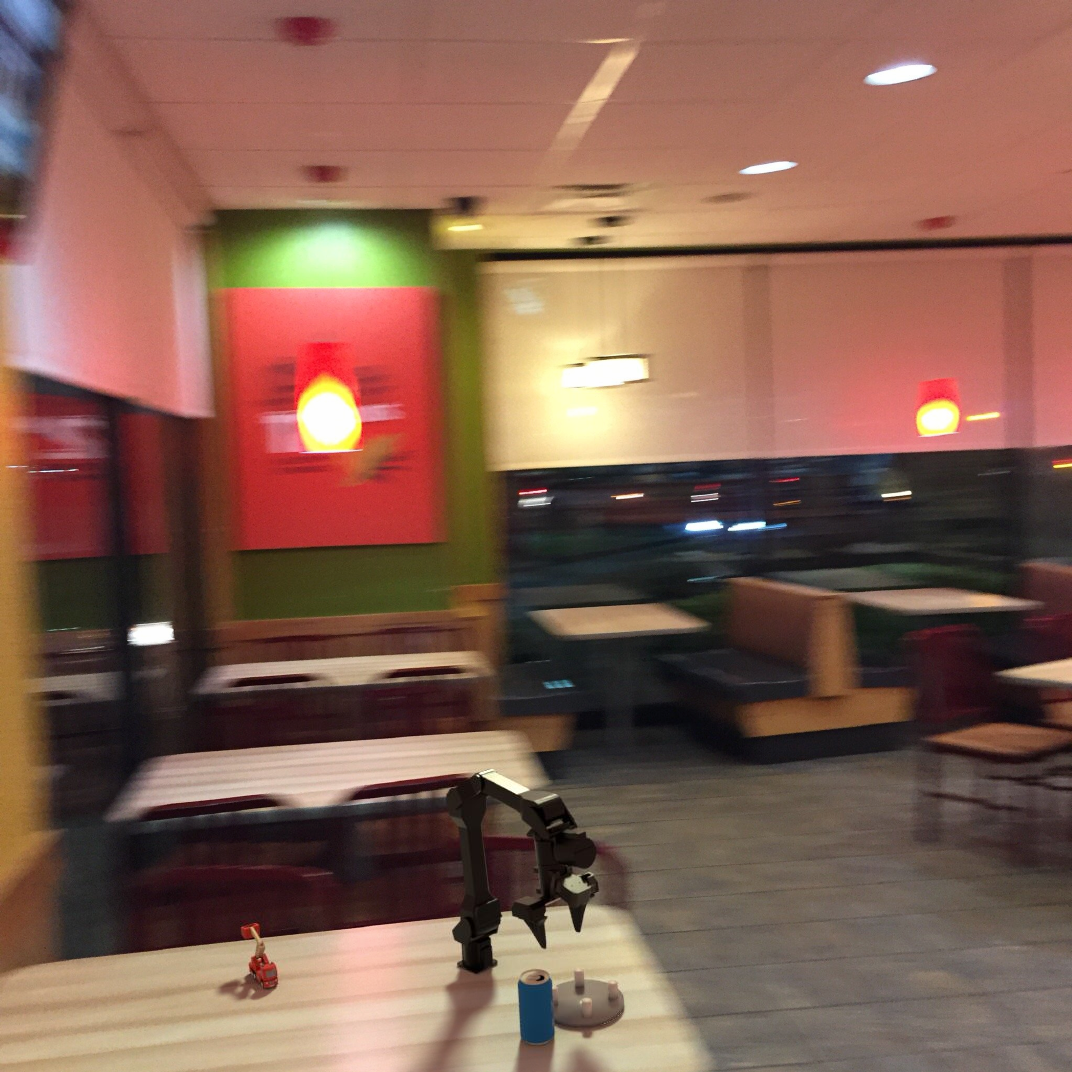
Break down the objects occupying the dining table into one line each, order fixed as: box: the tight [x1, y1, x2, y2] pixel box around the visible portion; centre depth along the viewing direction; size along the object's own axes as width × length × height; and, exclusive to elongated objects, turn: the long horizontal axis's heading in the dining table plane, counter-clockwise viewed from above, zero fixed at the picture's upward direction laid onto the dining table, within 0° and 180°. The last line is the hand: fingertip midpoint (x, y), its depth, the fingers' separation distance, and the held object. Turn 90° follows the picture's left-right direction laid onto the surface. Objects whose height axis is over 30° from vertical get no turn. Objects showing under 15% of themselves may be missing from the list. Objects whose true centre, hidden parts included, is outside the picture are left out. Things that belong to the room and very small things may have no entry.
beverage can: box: [517, 968, 556, 1046], centre depth 195 cm, size 6×6×12 cm
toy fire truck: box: [240, 923, 279, 989], centre depth 224 cm, size 3×14×10 cm, turn 34°
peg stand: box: [552, 967, 625, 1029], centre depth 206 cm, size 16×16×4 cm
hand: (561, 940), depth 204 cm, fingers open, 9 cm apart
